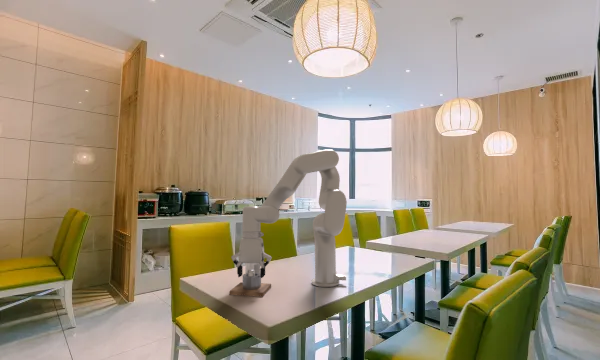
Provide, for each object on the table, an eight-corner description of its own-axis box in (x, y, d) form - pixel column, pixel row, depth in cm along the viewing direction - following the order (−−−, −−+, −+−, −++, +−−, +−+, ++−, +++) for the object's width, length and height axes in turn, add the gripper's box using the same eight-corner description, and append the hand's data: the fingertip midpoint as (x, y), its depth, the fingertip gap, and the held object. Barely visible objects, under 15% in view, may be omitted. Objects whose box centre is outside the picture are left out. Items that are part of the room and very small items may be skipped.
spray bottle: (261, 284, 126) (261, 243, 127) (246, 285, 124) (246, 244, 125) (259, 280, 132) (259, 241, 134) (244, 281, 130) (244, 242, 132)
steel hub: (262, 284, 120) (262, 272, 120) (257, 290, 113) (257, 277, 113) (246, 284, 121) (246, 272, 122) (240, 289, 114) (240, 276, 114)
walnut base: (271, 287, 122) (271, 283, 122) (263, 296, 110) (263, 292, 110) (240, 285, 124) (240, 282, 124) (229, 294, 112) (229, 290, 112)
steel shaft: (255, 286, 118) (255, 269, 119) (253, 288, 115) (253, 271, 116) (248, 285, 119) (249, 269, 119) (246, 288, 116) (246, 270, 116)
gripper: (273, 234, 121) (273, 275, 120) (235, 234, 124) (235, 273, 122) (268, 236, 113) (268, 280, 112) (228, 236, 116) (228, 278, 115)
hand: (251, 276), depth 117 cm, fingers open, 9 cm apart
